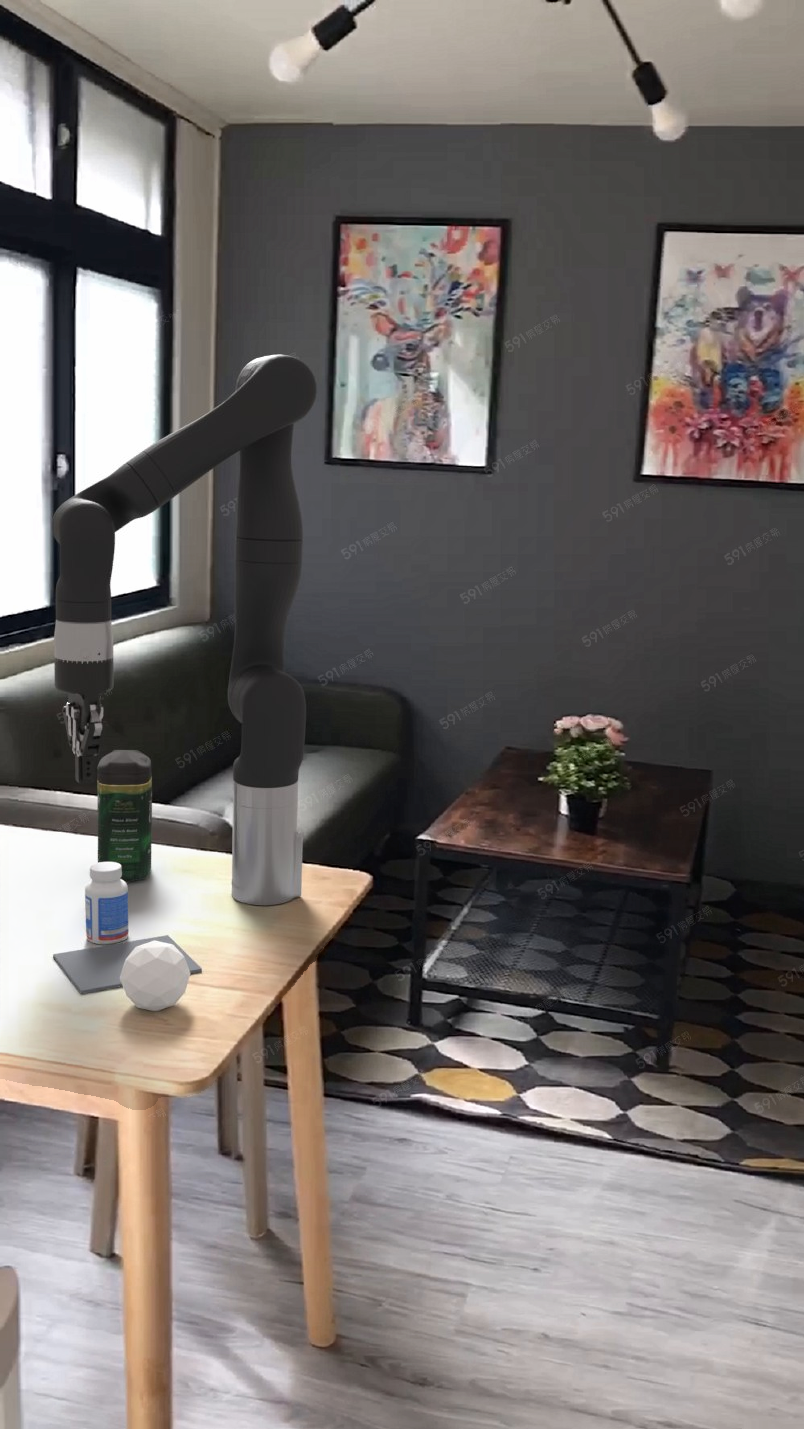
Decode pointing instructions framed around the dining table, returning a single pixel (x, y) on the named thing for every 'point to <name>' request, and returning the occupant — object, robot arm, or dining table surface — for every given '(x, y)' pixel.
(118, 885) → the pill bottle
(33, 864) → the dining table surface
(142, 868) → the coffee jar
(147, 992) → the geometric ball
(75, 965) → the mat
